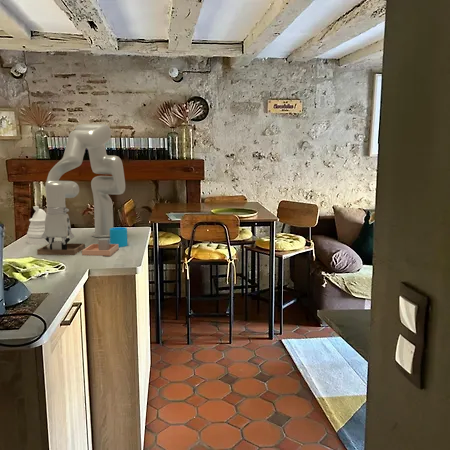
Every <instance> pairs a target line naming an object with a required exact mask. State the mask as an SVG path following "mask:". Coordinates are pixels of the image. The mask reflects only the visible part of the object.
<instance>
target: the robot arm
mask: <svg viewBox="0 0 450 450" xmlns="http://www.w3.org/2000/svg"><path fill="white" fill-rule="evenodd" d="M111 137H112V131H111V128H110V126H109V125H108V124H105V123H82V124H77V125H76V126H75V129H74V130H72V131H71V132H70V133H69V134H68V137H67V142H66V145H65V150H64V153H63V156H62V157H61V159H60V160H59V161H58V162H57V163H55V165H53V167H52V168H51V169H50V171H48V175H47V178H46V181H45V194H46V195H45V197H46V211H47V213H46V218H45V231H44V233H43V235H42V238H44V239H46V241H47V242H49V244H50V250H52V242H54V238H61V241H62V242H63V244H62V250H67V243H70V241H71V240H72V239H74V238H75V235H74V234H73V232H72V227H71V222H70V221H71V220H70V216H69V214H68V213H69V212H70V209H69V208H67V205H66V199H73V198H75V197H77V196H78V195H79V193H80V185H79V184H78V183H77V182H75V181H72V180H60V179H61V177H62V176H63V175H65V173H67V172H69V171H72V170H74V169H76V168H78V167H80V166H81V165H82V163H83V160H84V156H85V152H86V149H87V151H88V157H89V162H90V167H91V170H92V173H94V174H96V175H97V174H98V175H97V176H94V177H93V178H92V180H91V182H90V185H91V186H90V187H91V192H92V198H93V211H94V215H93V216H94V232H92V234H91V236H92V237H93V238H110V228H114V208H113V207H114V206H113V205H114V204H113V201H112V198H111V197H110V195H122V194H124V193H125V191H126V179H125V171H124V166H123V165H124V164H123V161H122V159H121V158H120V156H117V155H108V154H107V150H106V146H105V144H106V143H108V142H109V141H110V139H111ZM67 212H68V213H67Z"/></svg>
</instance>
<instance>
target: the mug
mask: <svg viewBox="0 0 450 450" xmlns="http://www.w3.org/2000/svg"><path fill="white" fill-rule="evenodd" d="M109 238H110V244H118V246H119V248H124V247H128V228H127V227H125V226H123V227H121V226H118V227H117V226H116V227H115V226H114V227H113V228H110V237H109Z"/></svg>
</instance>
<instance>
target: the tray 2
mask: <svg viewBox="0 0 450 450" xmlns="http://www.w3.org/2000/svg"><path fill="white" fill-rule="evenodd" d="M119 248H120V247H119V246H118V244H110V249H109V250H99V246H98V243H91V244H90V245H88V246H86V247H85V249H83V250H82V251H81V256H102V257H111V256H112V255H114V254H115V253H116V252H117V251H119Z"/></svg>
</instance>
